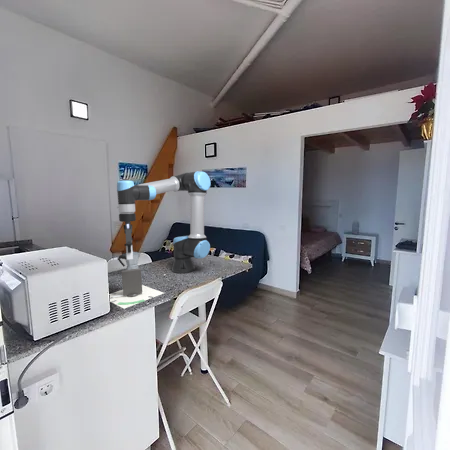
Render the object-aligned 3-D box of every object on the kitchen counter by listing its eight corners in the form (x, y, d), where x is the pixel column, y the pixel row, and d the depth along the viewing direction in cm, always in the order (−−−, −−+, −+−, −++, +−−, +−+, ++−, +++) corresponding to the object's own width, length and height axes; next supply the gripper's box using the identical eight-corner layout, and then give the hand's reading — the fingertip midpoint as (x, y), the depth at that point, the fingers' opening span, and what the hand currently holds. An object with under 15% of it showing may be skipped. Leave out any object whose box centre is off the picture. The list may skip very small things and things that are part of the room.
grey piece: (142, 290, 132) (140, 267, 130) (142, 295, 126) (141, 270, 125) (112, 295, 127) (110, 270, 125) (112, 299, 121) (110, 274, 120)
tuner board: (140, 286, 143) (140, 283, 143) (165, 295, 129) (164, 292, 129) (100, 299, 126) (100, 296, 126) (124, 311, 112) (124, 308, 112)
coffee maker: (139, 272, 170) (138, 245, 167) (145, 274, 163) (143, 247, 161) (116, 277, 160) (114, 249, 158) (121, 280, 153) (119, 251, 151)
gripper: (119, 211, 133) (122, 251, 135) (117, 215, 109) (121, 262, 112) (134, 211, 135) (137, 250, 138) (136, 214, 112) (138, 261, 114)
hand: (129, 256), depth 125 cm, fingers open, 13 cm apart
